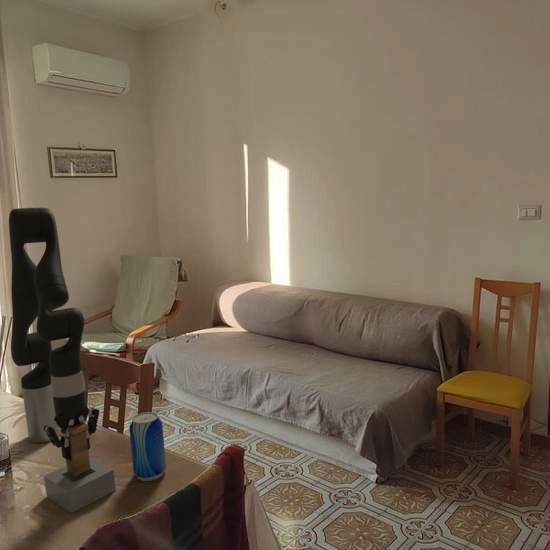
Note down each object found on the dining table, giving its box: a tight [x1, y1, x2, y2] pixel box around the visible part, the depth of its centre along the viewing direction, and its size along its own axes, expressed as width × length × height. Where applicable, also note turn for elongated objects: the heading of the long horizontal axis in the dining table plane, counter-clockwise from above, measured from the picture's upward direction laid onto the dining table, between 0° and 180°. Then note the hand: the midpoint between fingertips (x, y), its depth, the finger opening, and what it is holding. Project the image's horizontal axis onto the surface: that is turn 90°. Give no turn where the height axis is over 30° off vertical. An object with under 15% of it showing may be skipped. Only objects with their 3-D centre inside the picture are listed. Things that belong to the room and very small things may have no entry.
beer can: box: [128, 411, 167, 482], centre depth 140 cm, size 8×8×16 cm
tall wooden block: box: [59, 422, 90, 475], centre depth 132 cm, size 7×4×12 cm, turn 49°
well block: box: [43, 456, 116, 514], centre depth 134 cm, size 12×12×6 cm
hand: (76, 455), depth 132 cm, fingers closed on tall wooden block, 4 cm apart
